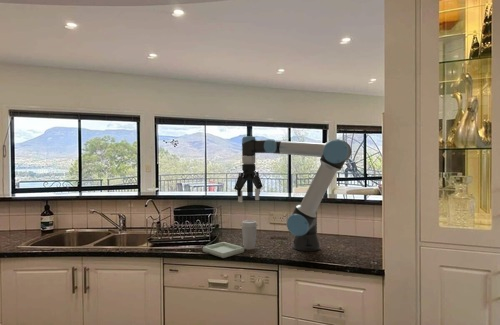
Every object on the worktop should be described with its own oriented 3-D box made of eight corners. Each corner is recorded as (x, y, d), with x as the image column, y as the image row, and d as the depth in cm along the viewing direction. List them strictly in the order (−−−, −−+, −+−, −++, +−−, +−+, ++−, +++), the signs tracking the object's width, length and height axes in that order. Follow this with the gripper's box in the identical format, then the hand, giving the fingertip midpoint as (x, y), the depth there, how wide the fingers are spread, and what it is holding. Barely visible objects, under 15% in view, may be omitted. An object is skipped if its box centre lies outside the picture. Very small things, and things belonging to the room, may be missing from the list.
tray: (244, 252, 176) (244, 247, 176) (223, 258, 165) (223, 253, 165) (223, 246, 188) (223, 241, 188) (202, 251, 177) (202, 246, 177)
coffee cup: (260, 246, 186) (260, 220, 186) (253, 251, 177) (253, 223, 177) (245, 245, 190) (245, 219, 190) (237, 249, 181) (237, 222, 181)
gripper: (259, 163, 195) (259, 198, 195) (227, 163, 177) (228, 202, 177) (268, 163, 189) (268, 199, 190) (237, 164, 172) (237, 204, 172)
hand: (248, 201), depth 183 cm, fingers open, 13 cm apart
